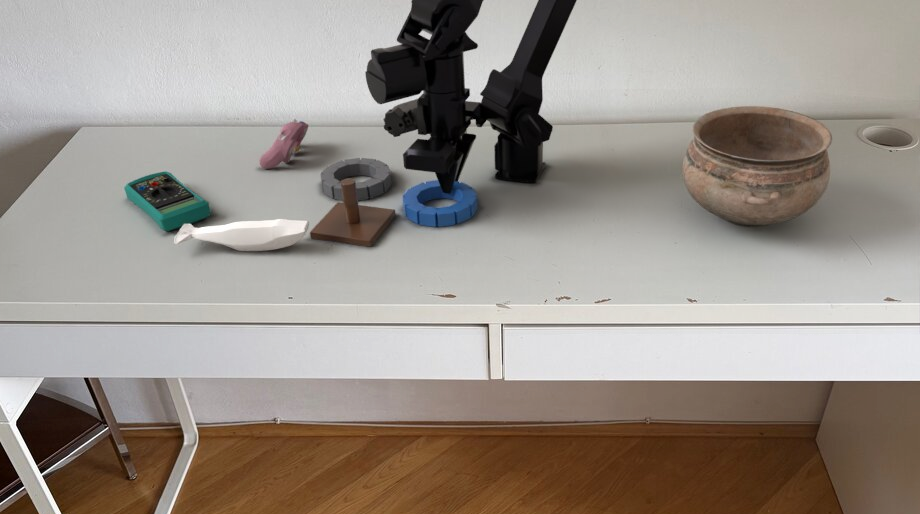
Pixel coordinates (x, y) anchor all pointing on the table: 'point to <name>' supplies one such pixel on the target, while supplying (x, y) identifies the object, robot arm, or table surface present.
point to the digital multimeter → (167, 200)
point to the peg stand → (352, 220)
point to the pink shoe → (284, 144)
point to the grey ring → (353, 168)
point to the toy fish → (248, 234)
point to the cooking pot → (757, 164)
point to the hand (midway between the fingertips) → (449, 189)
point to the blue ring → (443, 214)
